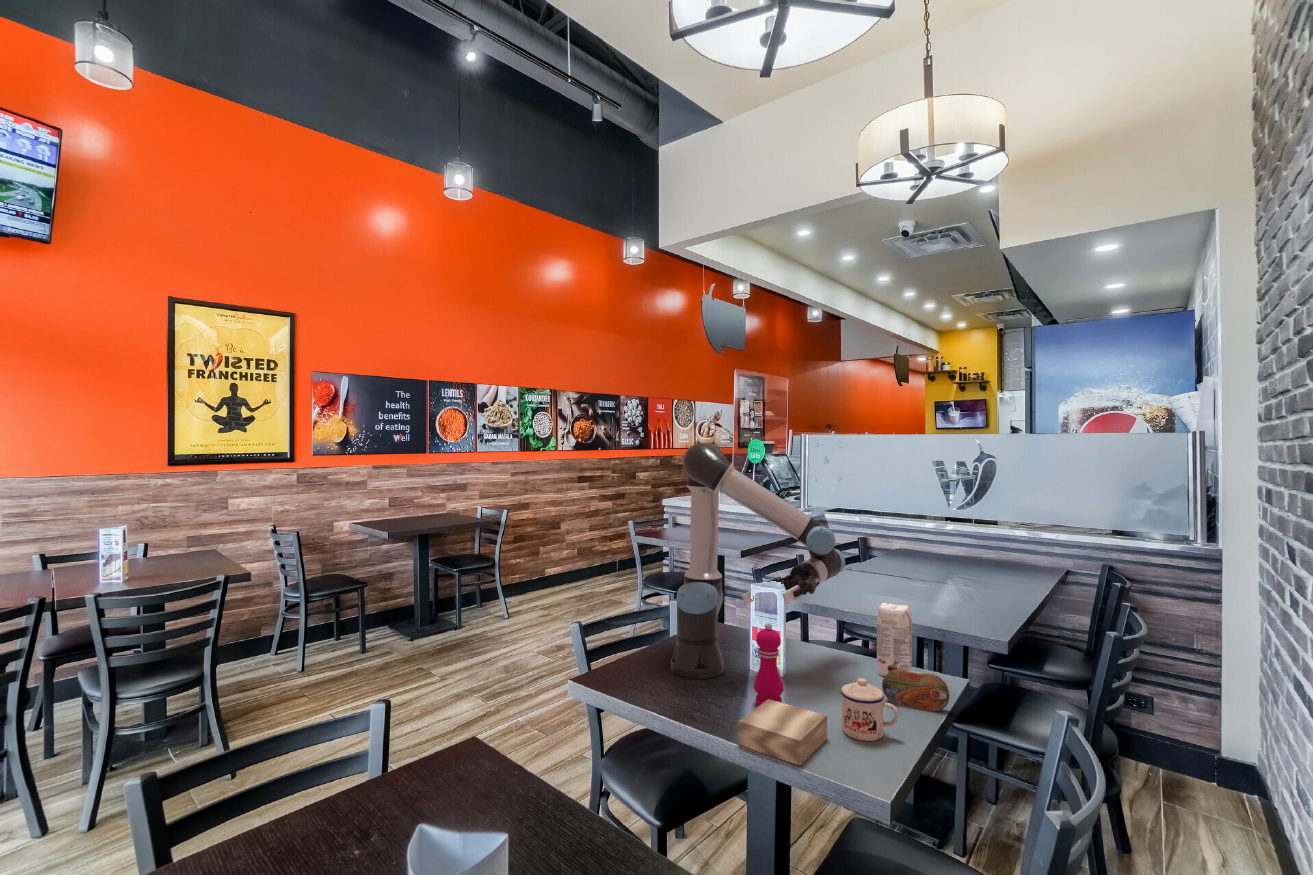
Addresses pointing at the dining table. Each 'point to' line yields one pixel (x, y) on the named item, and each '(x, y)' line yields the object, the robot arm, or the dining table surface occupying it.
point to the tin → (916, 690)
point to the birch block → (783, 731)
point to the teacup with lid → (864, 711)
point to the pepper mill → (768, 666)
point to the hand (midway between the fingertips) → (763, 599)
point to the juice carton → (894, 638)
